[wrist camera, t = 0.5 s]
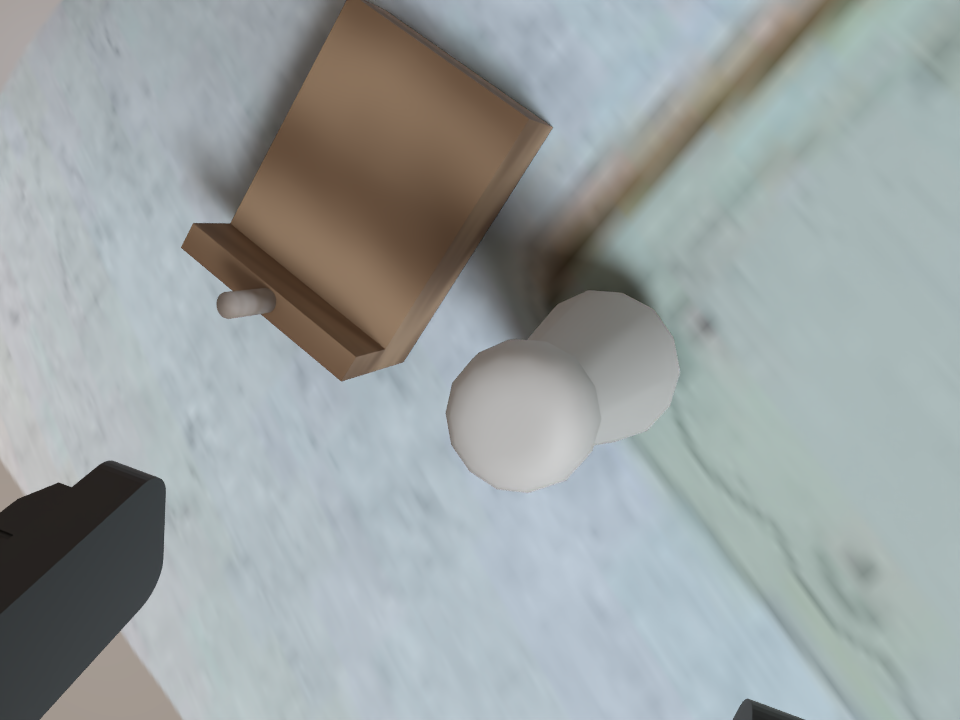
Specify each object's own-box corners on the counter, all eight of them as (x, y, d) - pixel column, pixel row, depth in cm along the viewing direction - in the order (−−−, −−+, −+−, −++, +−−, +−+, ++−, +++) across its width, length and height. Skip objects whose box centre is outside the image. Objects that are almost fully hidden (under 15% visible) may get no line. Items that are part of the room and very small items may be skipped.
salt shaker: (568, 269, 36) (436, 290, 24) (706, 308, 34) (639, 351, 22) (533, 403, 37) (392, 486, 25) (664, 447, 36) (579, 559, 24)
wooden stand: (386, 10, 37) (279, -42, 30) (552, 127, 35) (481, 101, 28) (259, 245, 41) (138, 248, 34) (403, 362, 39) (307, 391, 32)
